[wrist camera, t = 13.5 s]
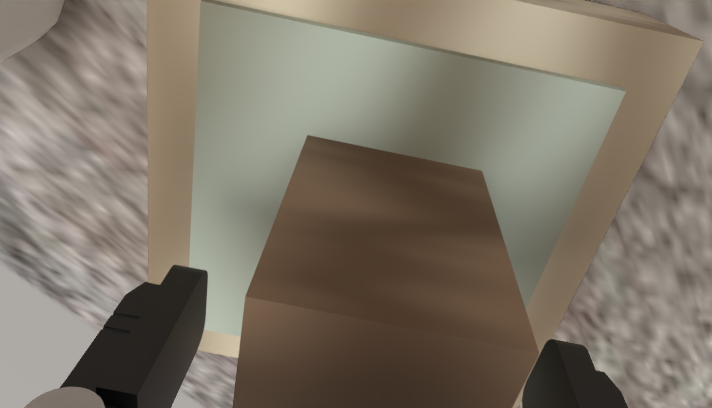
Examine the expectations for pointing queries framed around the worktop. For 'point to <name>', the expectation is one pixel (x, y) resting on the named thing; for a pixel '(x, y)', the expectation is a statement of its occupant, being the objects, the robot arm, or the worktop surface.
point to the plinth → (400, 123)
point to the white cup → (25, 23)
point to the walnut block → (383, 290)
